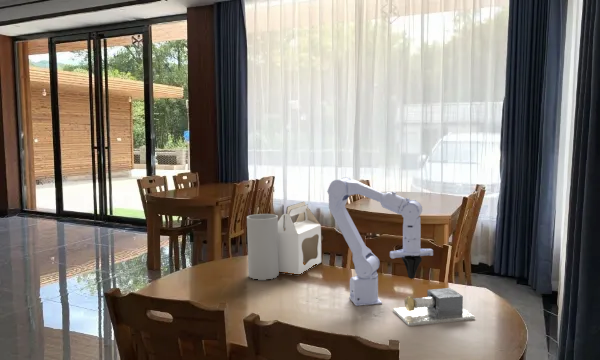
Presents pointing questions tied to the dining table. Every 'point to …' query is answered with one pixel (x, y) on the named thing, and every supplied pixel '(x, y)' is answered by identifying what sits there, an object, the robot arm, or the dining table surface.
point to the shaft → (419, 302)
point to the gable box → (298, 240)
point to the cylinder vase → (263, 246)
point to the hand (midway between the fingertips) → (411, 277)
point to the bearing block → (437, 309)
